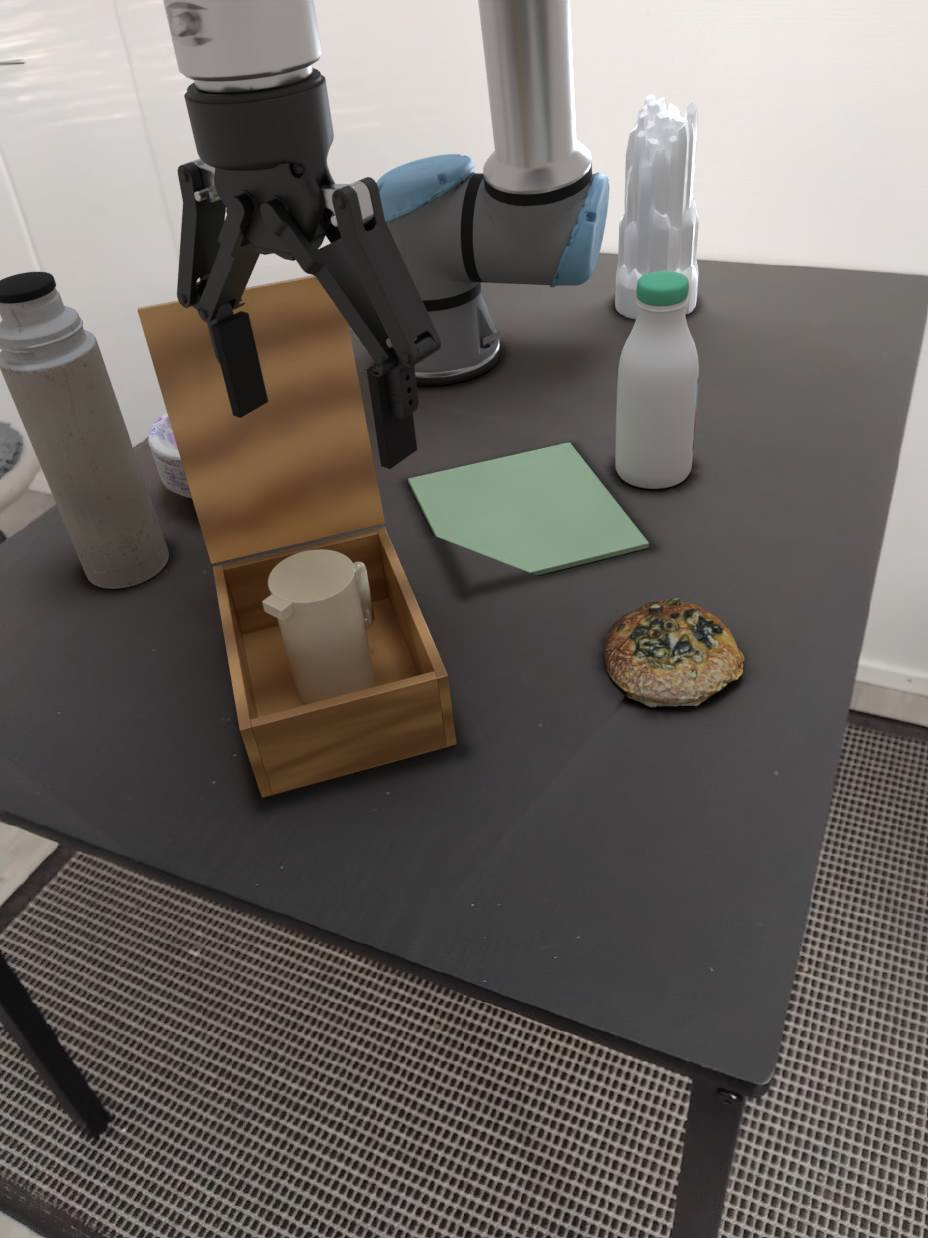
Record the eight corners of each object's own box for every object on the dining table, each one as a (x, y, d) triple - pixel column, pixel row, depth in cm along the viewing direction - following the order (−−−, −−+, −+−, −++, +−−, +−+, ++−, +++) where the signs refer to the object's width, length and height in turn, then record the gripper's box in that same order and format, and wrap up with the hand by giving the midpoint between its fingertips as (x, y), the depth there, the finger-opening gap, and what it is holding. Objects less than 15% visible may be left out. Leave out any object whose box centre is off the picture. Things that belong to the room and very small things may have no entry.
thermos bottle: (117, 535, 99) (13, 259, 81) (184, 545, 97) (92, 263, 79) (69, 582, 93) (-54, 297, 75) (139, 594, 91) (29, 303, 73)
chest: (457, 751, 73) (448, 675, 68) (264, 805, 71) (239, 730, 66) (396, 597, 88) (384, 526, 83) (234, 637, 85) (212, 566, 80)
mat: (408, 483, 102) (407, 478, 102) (569, 446, 105) (569, 441, 105) (462, 594, 87) (462, 589, 87) (648, 548, 90) (649, 542, 90)
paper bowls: (179, 456, 110) (159, 392, 105) (313, 442, 110) (300, 377, 105) (156, 533, 99) (133, 465, 94) (306, 517, 99) (291, 448, 94)
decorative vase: (702, 318, 127) (718, 107, 111) (619, 323, 128) (624, 114, 112) (688, 286, 136) (702, 85, 120) (610, 291, 136) (614, 92, 120)
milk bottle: (690, 492, 97) (706, 295, 84) (611, 489, 98) (615, 295, 85) (692, 452, 102) (707, 262, 90) (618, 450, 104) (622, 262, 91)
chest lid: (338, 272, 72) (328, 261, 76) (137, 309, 69) (138, 296, 74) (385, 523, 82) (373, 501, 86) (211, 564, 80) (208, 539, 84)
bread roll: (632, 602, 84) (640, 559, 80) (756, 652, 80) (771, 609, 77) (575, 687, 77) (582, 644, 74) (708, 746, 74) (722, 704, 70)
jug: (329, 730, 75) (302, 620, 68) (271, 698, 78) (240, 590, 71) (407, 660, 80) (390, 552, 73) (350, 633, 83) (328, 526, 76)
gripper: (54, 76, 56) (157, 412, 69) (386, 108, 43) (432, 511, 57) (157, 48, 60) (235, 370, 74) (485, 71, 48) (507, 453, 61)
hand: (321, 432), depth 65 cm, fingers open, 13 cm apart
